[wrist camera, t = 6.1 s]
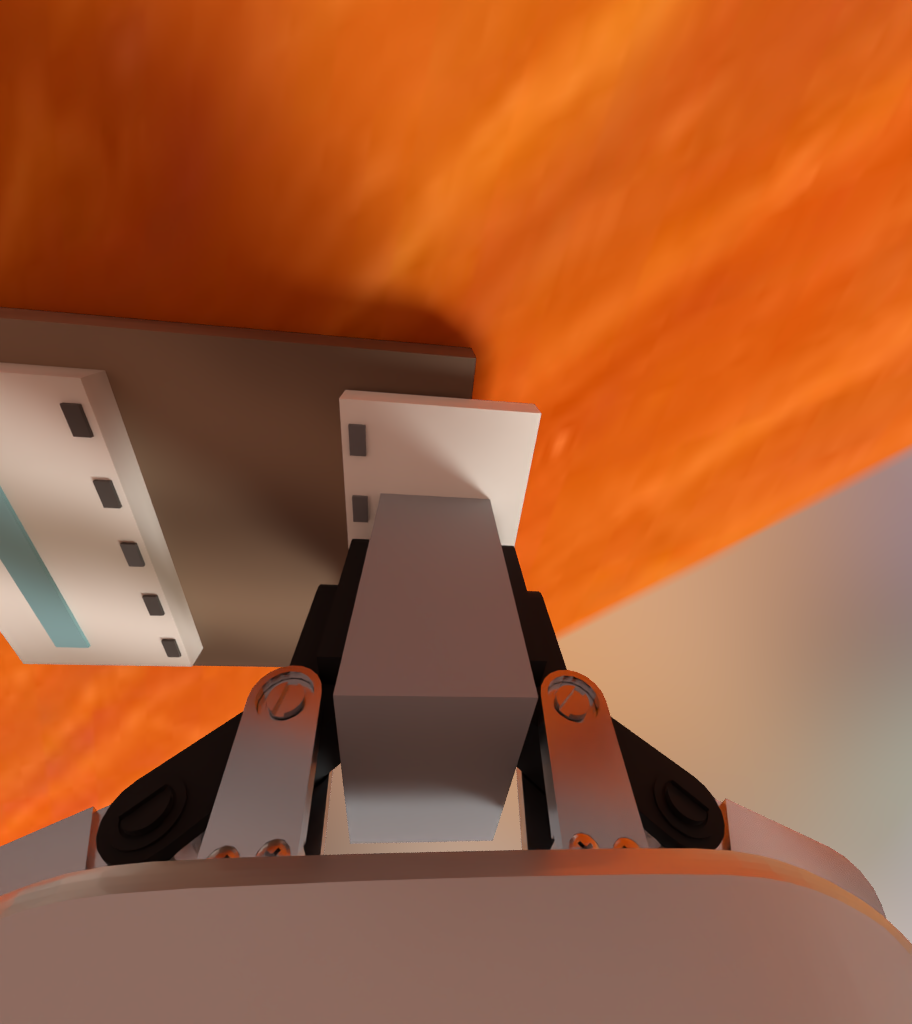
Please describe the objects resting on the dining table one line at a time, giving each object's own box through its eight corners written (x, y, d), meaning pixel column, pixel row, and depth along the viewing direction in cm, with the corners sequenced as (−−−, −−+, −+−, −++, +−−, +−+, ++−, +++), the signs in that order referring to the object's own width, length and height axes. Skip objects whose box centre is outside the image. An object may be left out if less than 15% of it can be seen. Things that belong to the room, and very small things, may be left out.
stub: (486, 656, 16) (516, 882, 10) (359, 653, 15) (314, 888, 9) (534, 404, 11) (657, 569, 5) (345, 389, 10) (227, 552, 4)
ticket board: (441, 640, 17) (442, 689, 15) (71, 631, 16) (19, 684, 14) (471, 348, 11) (479, 365, 9) (-126, 295, 10) (-271, 303, 8)
